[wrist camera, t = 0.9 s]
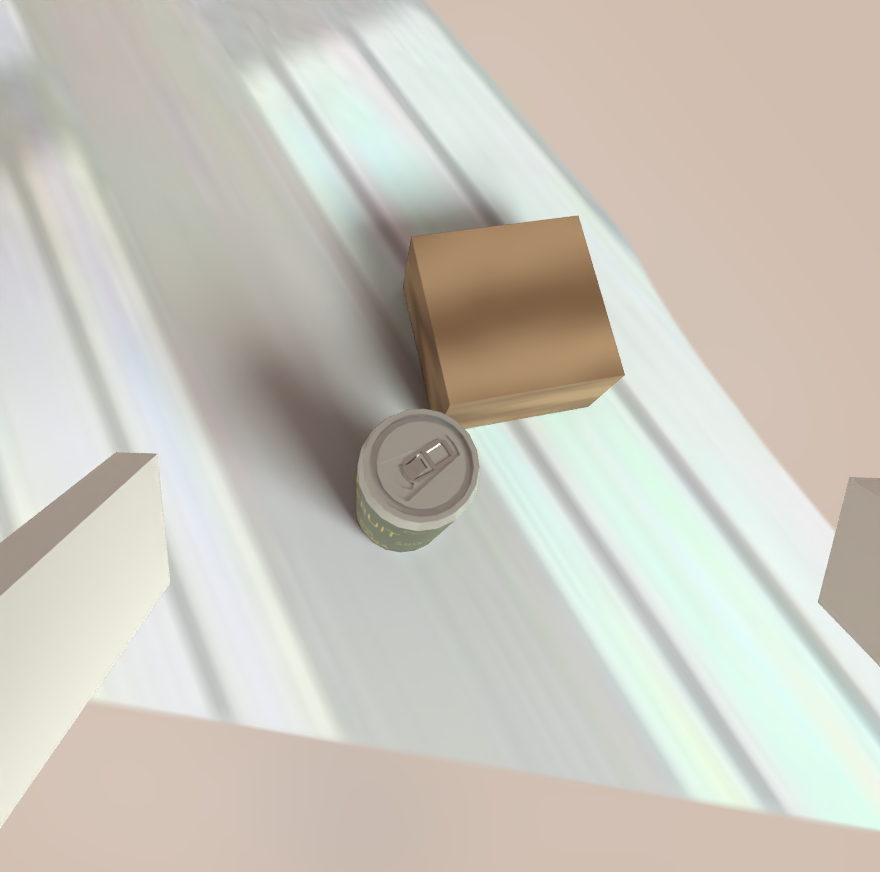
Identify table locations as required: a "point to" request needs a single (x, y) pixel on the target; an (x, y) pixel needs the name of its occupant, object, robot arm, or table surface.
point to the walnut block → (509, 321)
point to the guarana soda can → (414, 478)
